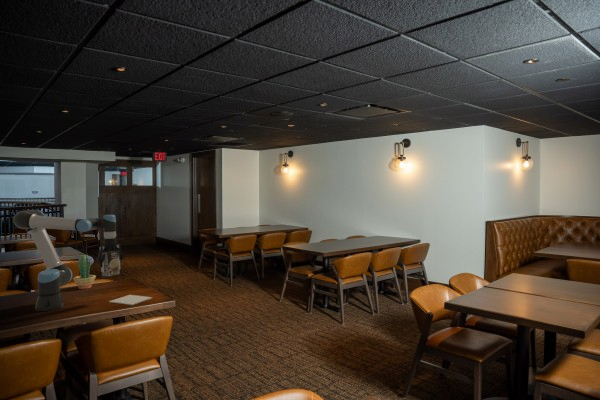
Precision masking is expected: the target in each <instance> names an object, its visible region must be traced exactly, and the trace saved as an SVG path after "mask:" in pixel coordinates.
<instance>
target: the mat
mask: <svg viewBox="0 0 600 400" xmlns="http://www.w3.org/2000/svg"><path fill="white" fill-rule="evenodd" d="M151 299H153V296H152V297H151V296H145V295H135V294H128V295H125V296H121V297H119V298H115V299H112V300H109V301H108V303H111V304H112V303H113V304H121V305H126V306H127V305H128V306H134V305H137V304H140V303H142V302H145V301H148V300H151Z"/></svg>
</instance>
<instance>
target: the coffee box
mask: <svg viewBox="0 0 600 400" xmlns="http://www.w3.org/2000/svg"><path fill="white" fill-rule="evenodd" d="M116 250H117V251H110V252H104V251H103V252H102V255H104V254H105V259H104V261H103V262H104V272H101V276H102V277H112V276H117V275H120V274H121V273H120V270H119V255H120V254H119V251H118V249H116Z"/></svg>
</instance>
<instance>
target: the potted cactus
mask: <svg viewBox="0 0 600 400" xmlns="http://www.w3.org/2000/svg"><path fill="white" fill-rule="evenodd" d="M77 262H78V268H79V274H80V275H78V276H74V277H72V279H73V281H74V283H75V284H76V286H77V288H78V289H79V290H84V289H89V288H92V285H93V283H94V281H95V279H96V277H97V275H96V274H95V275H94V274H90V269H91V267H92V266H91V265H93V264H94V258H93V257H92V256H90V255H88V254H81V255H80V257H79V258H78V259H77Z"/></svg>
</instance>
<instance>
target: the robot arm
mask: <svg viewBox="0 0 600 400" xmlns="http://www.w3.org/2000/svg"><path fill="white" fill-rule="evenodd" d="M12 220H13V224H14V226H15V227H17V228H19V229H20V230H25V232H26V233H27V234H29V235H31V238H32V240H33V242H34V244H35V247H36V249H37V251H38V253H39V255H40V256H41V259H42V260H43V263H44V265H45V267H46V269H45V270H42V271H40V272H38V274H37V291H38V292H37V295H38V296H37V299H36V303H35V307H34V310H35V311H36V312H48V311H54V310H58V309H59V310H60V309H61V308H63V307H64V301H63V298H62V296H61V287H63V286H66V285H67V284H68V283H70V282H71V281H72V279H73V271H72V270H71V268H69V267H67V266H66V265H65V263H64V262H62V261H61V260H60V257H59V255H58V253H57V251H56V249H55V247H54V245H53V243H52V239H50V236H49V234H48V232H47V229H50V230H51V229H52V230H66V231H78V232H81V233H83V232H84V233H85V232H89V231H93V230H103V246H99V247H98V253H97V254H98V255H97V258H96V262H97V263H99V268H100V272H101V273H102V272H104V262H103V261H104V259H105V254H104V255H102V252H110V251H117V250H118V251H119V271H120V270H121V265H122V260H123V259H125V257H124V252H123V249H122V244H117V238H116V237H117V219H116V215H115V214H104V215H103V216H102V217H93V218H92V217H89V218H85V219H84V218H82V219H81V218H73V217H60V216H58V217H57V216H46V215H45V213H44V212H42V211H41V210H38V209H29V210H20V211H19V212H17V213H15V214H14V216H13V218H12Z"/></svg>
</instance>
